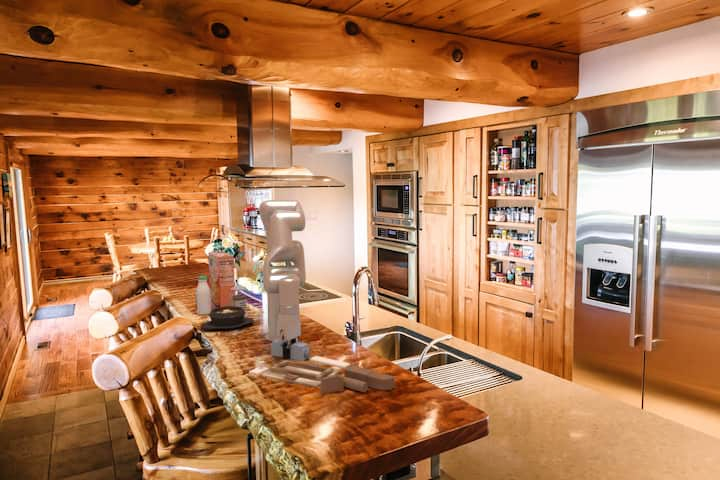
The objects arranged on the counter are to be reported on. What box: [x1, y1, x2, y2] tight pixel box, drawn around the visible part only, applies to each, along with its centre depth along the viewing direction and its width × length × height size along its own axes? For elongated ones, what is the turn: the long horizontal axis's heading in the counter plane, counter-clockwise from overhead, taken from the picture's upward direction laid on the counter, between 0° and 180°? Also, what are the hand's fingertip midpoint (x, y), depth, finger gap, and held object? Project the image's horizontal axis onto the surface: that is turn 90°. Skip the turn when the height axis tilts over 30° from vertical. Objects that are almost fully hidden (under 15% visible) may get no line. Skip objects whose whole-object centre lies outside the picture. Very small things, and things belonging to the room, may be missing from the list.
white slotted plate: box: [248, 360, 270, 377], centre depth 172 cm, size 6×4×4 cm, turn 153°
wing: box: [308, 355, 352, 369], centre depth 181 cm, size 4×16×1 cm, turn 57°
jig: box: [261, 359, 342, 388], centre depth 170 cm, size 16×22×2 cm
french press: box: [229, 266, 250, 317], centre depth 253 cm, size 10×12×25 cm
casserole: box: [200, 306, 255, 331], centre depth 231 cm, size 25×19×8 cm
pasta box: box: [208, 251, 236, 309], centre depth 269 cm, size 23×8×30 cm, turn 30°
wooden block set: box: [320, 364, 395, 395], centre depth 155 cm, size 17×6×18 cm
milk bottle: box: [195, 275, 212, 316], centre depth 256 cm, size 8×8×20 cm
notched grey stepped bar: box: [270, 339, 312, 362], centre depth 187 cm, size 16×4×6 cm, turn 64°
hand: (290, 355), depth 188 cm, fingers closed on notched grey stepped bar, 4 cm apart
